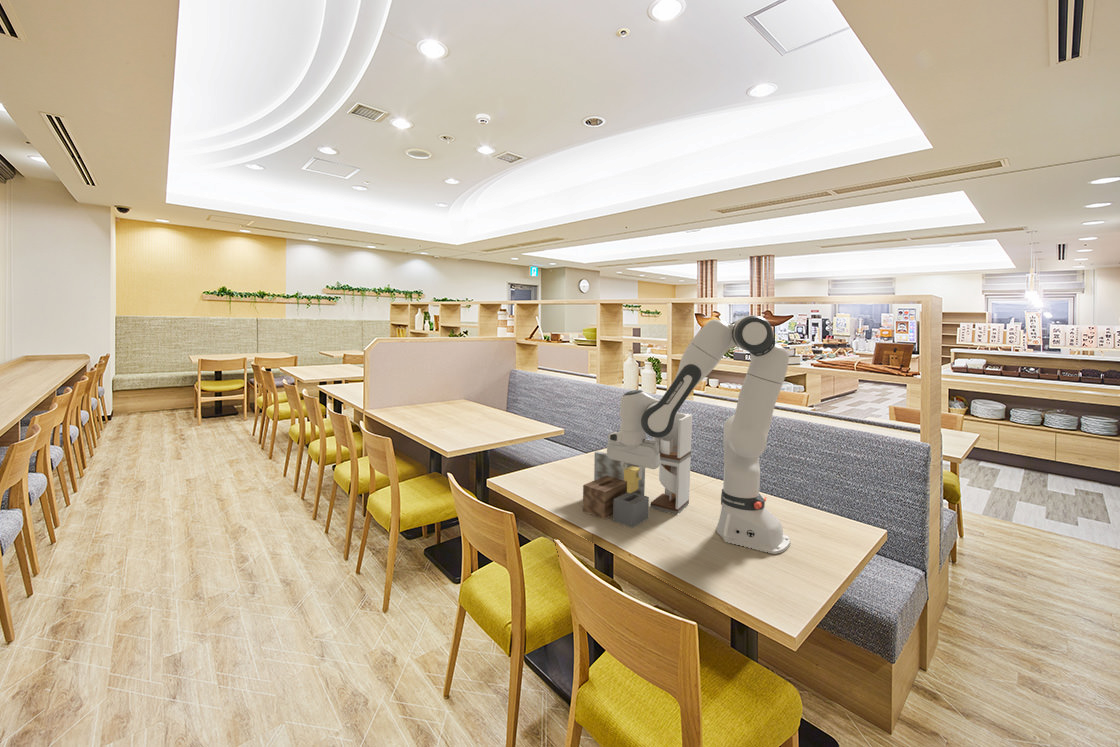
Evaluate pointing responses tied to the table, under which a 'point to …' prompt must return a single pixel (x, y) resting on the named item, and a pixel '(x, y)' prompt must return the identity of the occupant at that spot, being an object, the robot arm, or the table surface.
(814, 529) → the table surface
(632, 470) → the yellow tabbed block
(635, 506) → the dark gray slotted block
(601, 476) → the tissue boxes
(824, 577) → the table surface
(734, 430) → the robot arm
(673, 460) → the display case
